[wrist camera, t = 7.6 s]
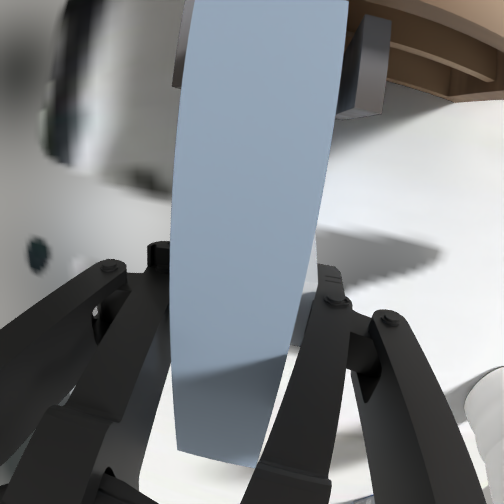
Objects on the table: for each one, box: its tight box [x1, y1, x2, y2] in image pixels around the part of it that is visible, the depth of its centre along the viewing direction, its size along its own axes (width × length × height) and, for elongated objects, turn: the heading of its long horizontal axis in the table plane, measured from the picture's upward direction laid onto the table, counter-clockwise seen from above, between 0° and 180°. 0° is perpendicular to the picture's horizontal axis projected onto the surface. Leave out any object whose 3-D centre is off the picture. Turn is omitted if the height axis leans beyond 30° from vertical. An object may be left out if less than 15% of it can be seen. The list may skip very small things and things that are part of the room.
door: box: [170, 0, 349, 468], centre depth 12 cm, size 14×3×11 cm, turn 173°
